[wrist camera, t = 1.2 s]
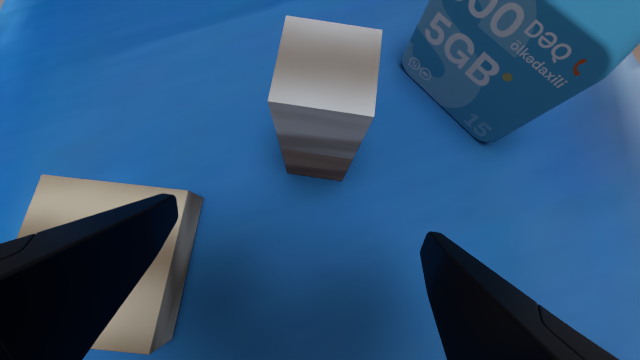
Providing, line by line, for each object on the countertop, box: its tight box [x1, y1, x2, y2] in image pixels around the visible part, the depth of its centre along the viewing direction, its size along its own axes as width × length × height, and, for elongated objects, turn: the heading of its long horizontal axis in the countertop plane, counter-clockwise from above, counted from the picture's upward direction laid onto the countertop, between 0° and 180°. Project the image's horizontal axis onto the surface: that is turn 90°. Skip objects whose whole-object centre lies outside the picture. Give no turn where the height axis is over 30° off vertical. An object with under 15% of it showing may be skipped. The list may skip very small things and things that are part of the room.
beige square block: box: [17, 175, 203, 354], centre depth 20 cm, size 11×11×3 cm
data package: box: [402, 0, 640, 142], centre depth 21 cm, size 12×4×12 cm, turn 41°
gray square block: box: [268, 16, 382, 181], centre depth 19 cm, size 5×5×12 cm
